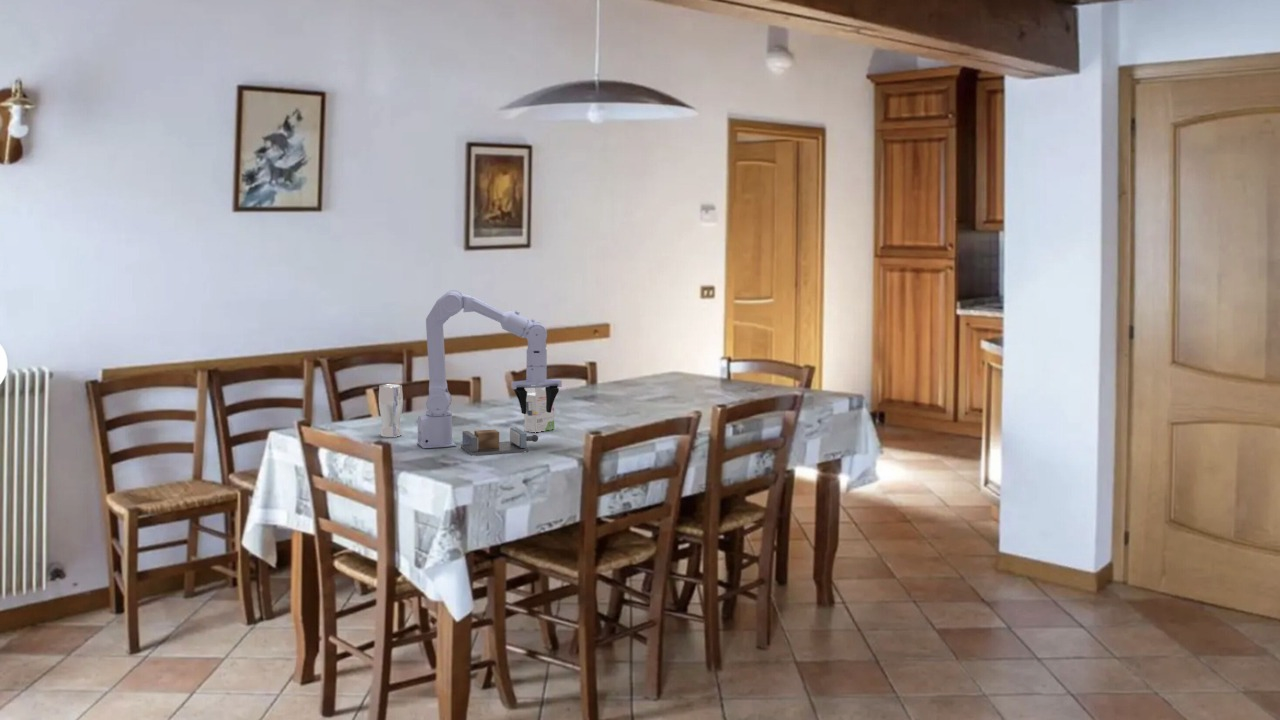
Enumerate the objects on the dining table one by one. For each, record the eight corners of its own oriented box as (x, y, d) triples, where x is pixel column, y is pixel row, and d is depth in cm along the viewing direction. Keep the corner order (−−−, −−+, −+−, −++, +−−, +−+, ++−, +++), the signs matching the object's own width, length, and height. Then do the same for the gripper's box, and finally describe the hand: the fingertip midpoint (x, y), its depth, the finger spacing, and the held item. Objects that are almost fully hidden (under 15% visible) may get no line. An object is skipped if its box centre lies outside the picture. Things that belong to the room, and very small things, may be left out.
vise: (472, 455, 311) (472, 438, 310) (460, 447, 322) (460, 430, 321) (528, 451, 317) (528, 434, 317) (515, 443, 328) (515, 427, 328)
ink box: (543, 427, 354) (543, 380, 352) (554, 429, 351) (555, 382, 349) (523, 431, 347) (523, 383, 345) (535, 433, 344) (535, 385, 342)
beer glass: (374, 435, 337) (373, 385, 335) (394, 432, 342) (393, 383, 340) (388, 439, 332) (387, 388, 330) (407, 435, 337) (407, 385, 335)
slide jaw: (519, 448, 317) (519, 433, 317) (508, 441, 326) (508, 427, 326) (539, 446, 320) (539, 432, 319) (528, 440, 329) (528, 426, 328)
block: (478, 449, 316) (478, 433, 315) (474, 446, 319) (474, 430, 319) (499, 447, 318) (499, 432, 318) (495, 445, 322) (495, 429, 321)
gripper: (516, 368, 317) (516, 416, 319) (565, 366, 323) (565, 413, 325) (508, 365, 324) (508, 412, 325) (557, 363, 329) (556, 409, 331)
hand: (536, 412), depth 325 cm, fingers open, 7 cm apart
